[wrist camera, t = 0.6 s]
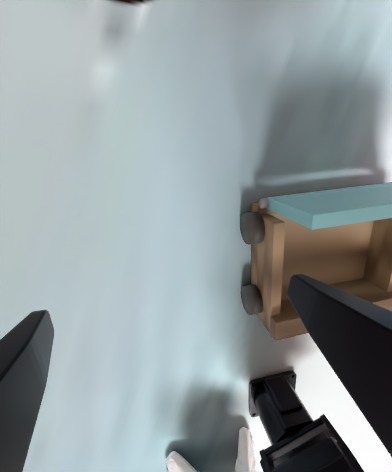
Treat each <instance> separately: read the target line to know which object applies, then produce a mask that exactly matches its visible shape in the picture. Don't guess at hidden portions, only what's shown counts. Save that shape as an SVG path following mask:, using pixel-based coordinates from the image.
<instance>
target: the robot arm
mask: <svg viewBox="0 0 392 472" xmlns="http://www.w3.org/2000/svg"><path fill="white" fill-rule="evenodd" d="M287 294H288V297H289V299H290V301H291V303H292V304H293V306H294V308H295V310H296V312H297V314H298V315H299V317H300V319H301V321H302V323H303V325H304V326H305V328H306V330H307V331H308V333H309V334H310V336H311V337H312V339H313V340H314V342H315V343H316V345H317V346H318V348H319V349H320V351H321V352H322V354H323V355H324V357H325V358H326V360H327V361H328V363H329V364H330V366H331V367H332V369H333V370H334V372H335V373H336V375H337V376H338V378H339V379H340V381H341V382H342V383H343V385H344V386H345V388H346V389H347V391H348V392H349V394H350V395H351V397H352V398H353V400H354V401H355V403H356V404H357V406H358V407H359V409H360V410H361V412H362V413H363V415H364V416H365V418H366V419H367V421H368V422H369V424H370V425H371V427H372V428H373V430H374V431H375V433H376V434H377V436H378V437H379V439H380V440H381V442H382V443H383V445H384V446H385V448H386V449H387V451H388V452H389V453H390V455H391V457H392V311H390V310H388V309H385V308H383V307H380V306H378V305H376V304H373V303H371V302H369V301H366V300H364V299H361V298H359V297H357V296H354V295H352V294H349V293H347V292H345V291H342V290H340V289H337V288H335V287H333V286H330V285H328V284H325V283H323V282H321V281H318V280H316V279H314V278H311V277H309V276H306V275H304V274H294V275H292V276H291V278H290V282H289V285H288V289H287ZM53 338H54V328H53V324H52V321H51V318H50V315H49V312H48V311H47V310H40V311H34V312H31V313H30V314H29V315H28V316H27V317H26V318H24V319H23V320H22V321H21V322H20V323H19V324H18V325H17V326H15V327H14V328H13V329H12V330H11V331H10V332H9V333H7V334H6V335H5V336H4V337H3V338H2V339H1V340H0V472H22V471H23V467H24V464H25V460H26V456H27V453H28V449H29V445H30V442H31V438H32V434H33V431H34V427H35V424H36V420H37V416H38V413H39V409H40V405H41V402H42V398H43V394H44V391H45V387H46V382H47V377H48V370H49V364H50V357H51V351H52V344H53ZM295 384H296V374H295V372H294V371H290V372H286V373H282V374H278V375H274V376H270V377H266V378H262V379H258V380H254V381H251V382H250V415H251V417H256V416H259V417H260V419H261V421H262V424H263V426H264V428H265V431H266V433H267V435H268V438H269V440H270V442H271V445H272V446H270V447H268V448H267V449H265V450H264V449H263V450H261V451H260V455H261V458H262V459H261V461H260V463H261V466H262V469H263V471H264V472H364V471H363V469H362V468H361V466H360V465H359V463H358V462H357V460H356V458H355V457H354V455H353V454H352V453H351V451H350V450H349V448H348V447H347V445H346V444H345V443H344V441H343V440H342V438H341V437H340V436H339V434H338V433H337V432H336V430H335V429H334V427H333V426H332V425H331V423H330V422H329V421H328V419H327V418H326V416H325V415H324V414H323V415H321V416H320V418H318V419H316V420H315V421H313V419H312V418H311V416H310V415H309V413H308V411H307V410H306V408H305V407H304V405H303V403H302V402H301V400H300V399H299V397H298V395H297V394H296V392H295Z"/></svg>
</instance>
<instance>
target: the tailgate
mask: <svg viewBox="0 0 392 472" xmlns="http://www.w3.org/2000/svg"><path fill="white" fill-rule="evenodd" d="M259 206H260V208H261V209H262V208H267V209H269V210H271V211H273V212H275V213H277V214H279V215H281V216H284V217H286V218H288V219H290V220H292V221H294V222H296V223H298V224H300V225H303V226H305V227H307V228H309V229H311V230H314V229H321V228H327V227H334V226H341V225H348V224H354V223H361V222H368V221H374V220H381V219H388V218H392V182H389V183H380V184H372V185H364V186H356V187H347V188H339V189H331V190H323V191H314V192H306V193H298V194H290V195H282V196H273V197H267V198H261V199H260V200H259Z"/></svg>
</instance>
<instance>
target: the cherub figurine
mask: <svg viewBox="0 0 392 472" xmlns="http://www.w3.org/2000/svg"><path fill="white" fill-rule="evenodd" d="M253 446H254V443H253V440H252V439H251V437H250V431H249V430H248V429H247V428H244V427H243V428H241V429H240V430H239V444H238V458H237V460H236V465H235V472H256V470H255V466H256V461H255V458H254V457H253V456H254V450H253ZM166 464H167V467H168V471H167V472H197V471H196V470H195V469H194V468H193V467H192V466H191V465H190V464H189V463H188V462H187V461H186V460H185V459H184V458H183V457H182V456H181V455H180V454H178V453H177V452H175V451H172V452H171V453H170V454H169V455H168V457H167V460H166ZM198 472H199V471H198Z"/></svg>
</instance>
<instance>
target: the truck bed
mask: <svg viewBox="0 0 392 472" xmlns="http://www.w3.org/2000/svg"><path fill="white" fill-rule="evenodd" d="M240 229H241V234H242V237H243V240H244V242H245V243H246V244H251V285H246V286H242V288H241V298H242V302H243V306H244V308H245V311H246V312H247V314H249V315H252V314H257V315H258V316H259V318H260V319H261V321H262V322H263V324H264V325H265V327H266V328H267V329H268V331H269V332H270V334H271V335H272V337H273V338H274V340H279V339H283V338H288V337H292V336H296V335H301V334H305V333H308V331H307V330H306V328H305V326H304V325H303V323H302V321H301V319H300V317H299V315H298V314H297V312H296V310H295V308H294V306H293V304H292V303H291V301H290V299H289V297H288V294H287V289H288V285H289V282H290V278H291V276H292V275H294V274H304V275H306V276H309V277H311V278H314V279H316V280H318V281H321V282H323V283H325V284H328V285H330V286H333V287H335V288H337V289H340V290H342V291H345V292H347V293H349V294H352V295H354V296H357V297H359V298H361V299H364V300H366V301H369V302H371V303H373V304H376V305H378V306H380V307H383V308H385V309H388V310H390V311H392V218H388V219H381V220H374V221H368V222H361V223H354V224H348V225H341V226H334V227H327V228H321V229H314V230H311V229H309V228H307V227H305V226H303V225H300V224H298V223H296V222H294V221H292V220H290V219H288V218H286V217H284V216H281V215H279V214H277V213H275V212H273V211H271V210H269V209H267V208H262V209H261V208H260V206H259V202H257V203H252V207H251V212H247V213H243V214H242V215H241V219H240Z"/></svg>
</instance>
